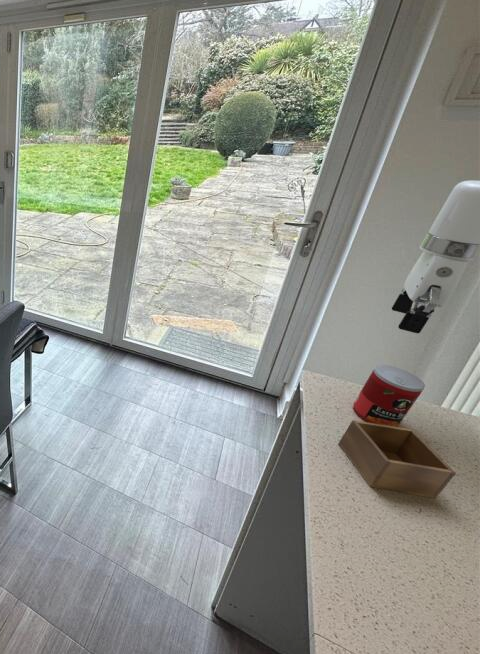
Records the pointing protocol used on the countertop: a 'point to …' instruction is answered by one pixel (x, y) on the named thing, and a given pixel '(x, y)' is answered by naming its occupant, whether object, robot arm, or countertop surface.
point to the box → (395, 459)
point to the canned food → (388, 395)
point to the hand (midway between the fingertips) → (404, 320)
